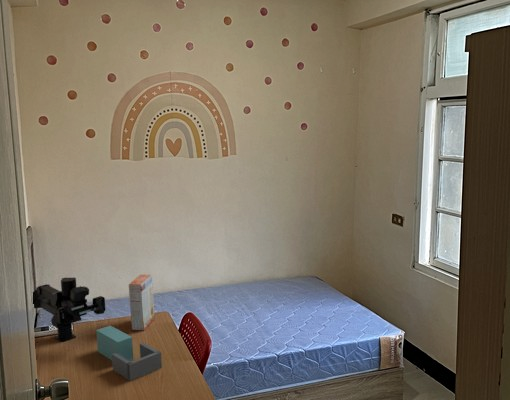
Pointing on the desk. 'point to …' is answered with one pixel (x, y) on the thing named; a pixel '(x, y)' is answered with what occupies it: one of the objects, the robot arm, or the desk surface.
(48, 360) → the desk surface
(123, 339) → the teal block
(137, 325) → the cracker box
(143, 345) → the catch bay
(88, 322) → the desk surface
